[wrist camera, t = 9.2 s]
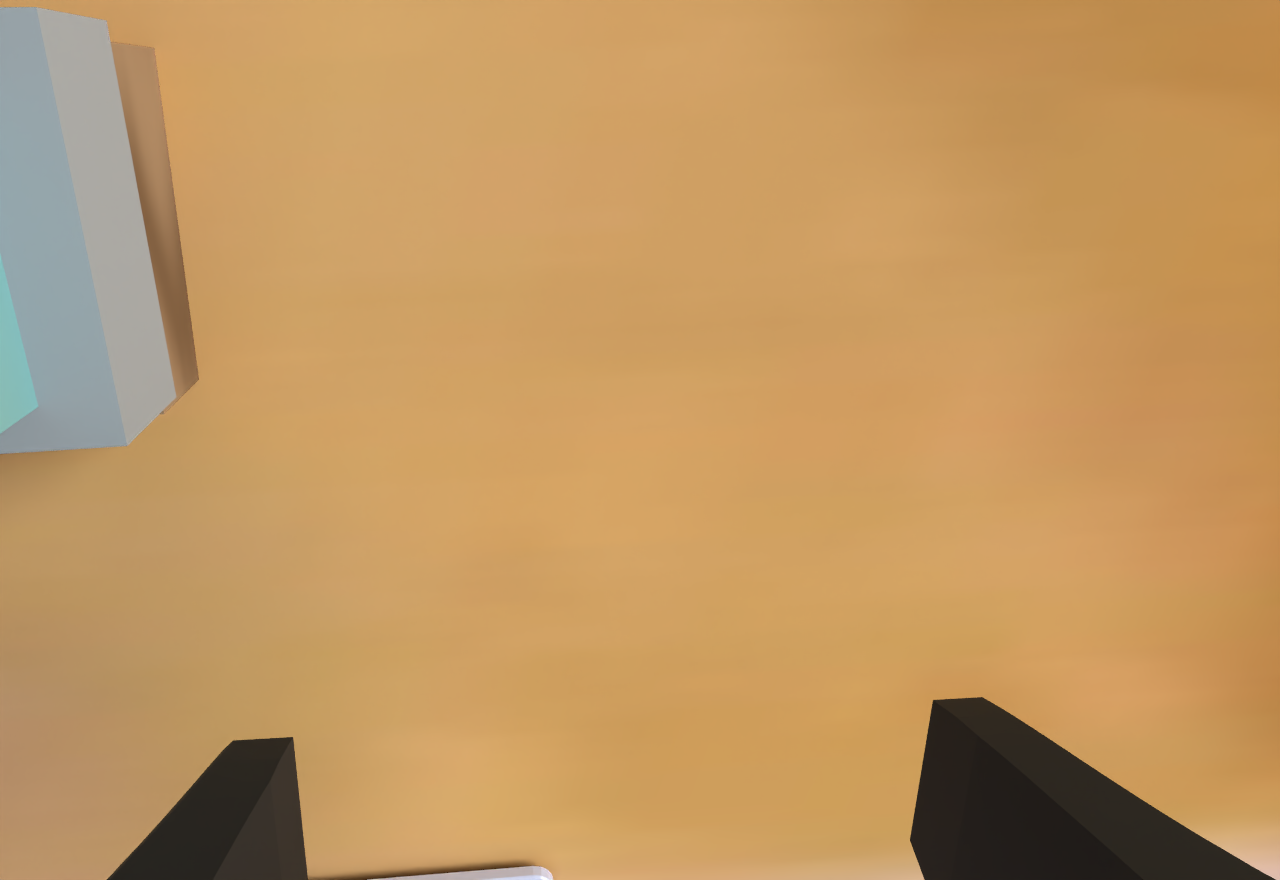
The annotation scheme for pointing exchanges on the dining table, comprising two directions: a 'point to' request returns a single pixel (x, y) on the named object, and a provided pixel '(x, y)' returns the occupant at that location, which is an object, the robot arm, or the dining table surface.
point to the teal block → (12, 364)
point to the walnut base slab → (157, 203)
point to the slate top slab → (75, 239)
